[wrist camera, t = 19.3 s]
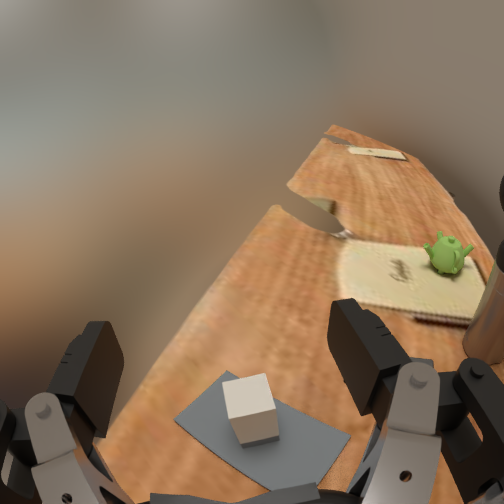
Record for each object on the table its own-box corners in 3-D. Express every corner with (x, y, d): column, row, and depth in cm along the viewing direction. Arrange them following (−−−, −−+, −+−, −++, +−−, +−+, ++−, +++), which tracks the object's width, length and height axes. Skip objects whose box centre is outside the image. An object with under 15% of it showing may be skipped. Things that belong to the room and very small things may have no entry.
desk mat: (350, 436, 30) (351, 435, 30) (300, 506, 23) (300, 506, 22) (227, 372, 43) (226, 370, 43) (174, 420, 35) (173, 419, 35)
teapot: (455, 287, 51) (464, 255, 47) (416, 267, 60) (422, 236, 56) (469, 267, 56) (477, 237, 52) (434, 250, 65) (439, 222, 60)
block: (275, 408, 26) (279, 440, 31) (264, 372, 30) (270, 411, 35) (228, 418, 26) (242, 448, 31) (221, 382, 30) (236, 418, 35)
